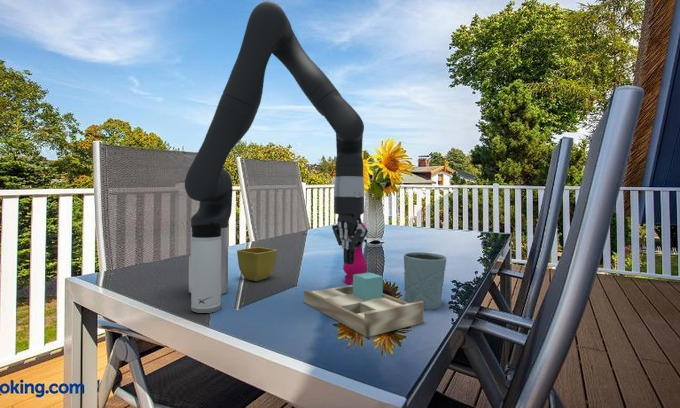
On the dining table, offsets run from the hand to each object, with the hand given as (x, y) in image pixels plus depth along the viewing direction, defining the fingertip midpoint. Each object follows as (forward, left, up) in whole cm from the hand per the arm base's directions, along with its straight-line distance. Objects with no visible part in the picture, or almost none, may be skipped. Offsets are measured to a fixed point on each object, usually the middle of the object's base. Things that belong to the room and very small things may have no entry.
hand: (348, 263), depth 92 cm
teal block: (0, -7, -7) cm, 10 cm away
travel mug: (-32, +9, -9) cm, 35 cm away
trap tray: (-3, -9, -9) cm, 13 cm away
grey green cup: (+14, -13, -9) cm, 21 cm away
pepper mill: (+12, +13, -9) cm, 20 cm away
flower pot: (-12, +31, -9) cm, 35 cm away
